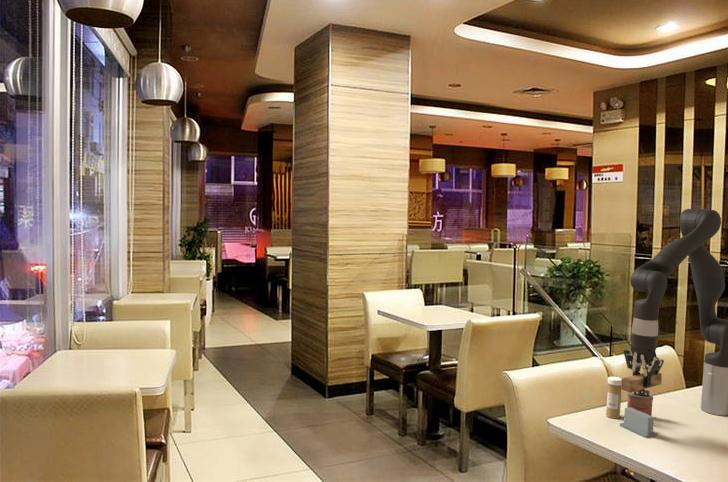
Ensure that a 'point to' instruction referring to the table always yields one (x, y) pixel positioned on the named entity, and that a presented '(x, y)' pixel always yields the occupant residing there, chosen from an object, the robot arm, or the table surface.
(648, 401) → the lighter
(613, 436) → the table surface
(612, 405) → the sprinkles bottle
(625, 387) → the walnut bar
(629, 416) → the fulcrum
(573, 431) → the table surface
